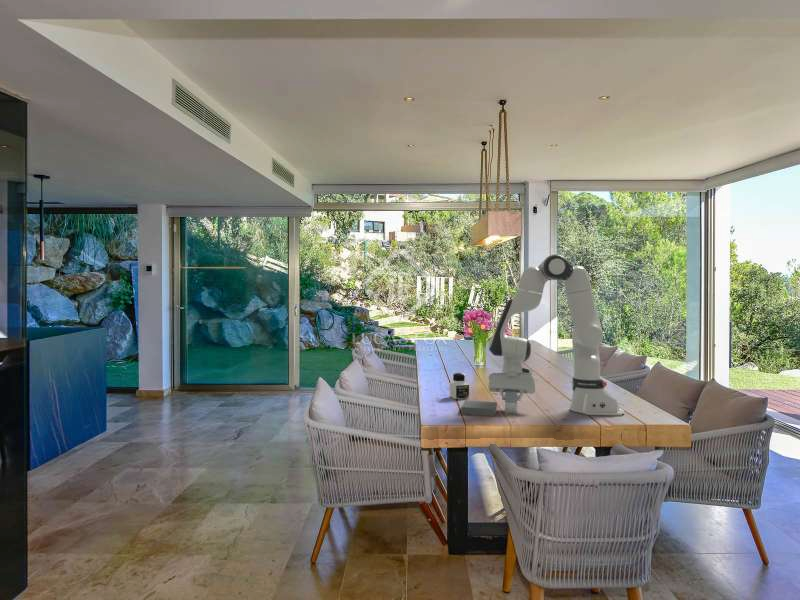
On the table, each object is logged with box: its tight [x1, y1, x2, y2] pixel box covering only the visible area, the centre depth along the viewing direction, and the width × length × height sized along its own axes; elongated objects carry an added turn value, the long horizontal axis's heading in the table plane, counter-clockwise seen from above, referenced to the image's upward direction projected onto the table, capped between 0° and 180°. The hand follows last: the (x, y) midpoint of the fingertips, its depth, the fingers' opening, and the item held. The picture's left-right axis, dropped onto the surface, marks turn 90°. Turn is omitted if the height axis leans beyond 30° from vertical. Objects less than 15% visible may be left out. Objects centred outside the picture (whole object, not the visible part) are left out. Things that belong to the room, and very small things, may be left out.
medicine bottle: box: [449, 372, 470, 400], centre depth 262 cm, size 7×7×12 cm
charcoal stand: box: [460, 399, 498, 417], centre depth 234 cm, size 14×14×3 cm
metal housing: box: [504, 390, 518, 414], centre depth 234 cm, size 5×5×9 cm
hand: (511, 399), depth 233 cm, fingers closed on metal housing, 5 cm apart
